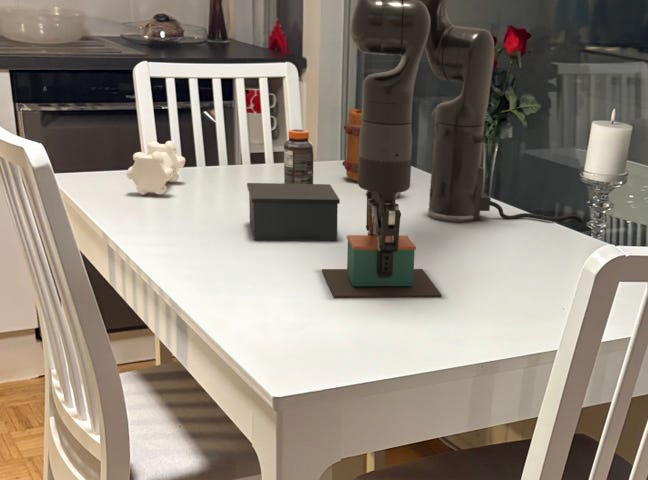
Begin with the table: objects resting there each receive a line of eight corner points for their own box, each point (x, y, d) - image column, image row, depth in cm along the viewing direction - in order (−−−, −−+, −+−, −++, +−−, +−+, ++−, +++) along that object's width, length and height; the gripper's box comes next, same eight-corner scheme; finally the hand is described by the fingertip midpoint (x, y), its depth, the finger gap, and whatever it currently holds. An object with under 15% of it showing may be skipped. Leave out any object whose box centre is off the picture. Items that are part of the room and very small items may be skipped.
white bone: (172, 198, 185) (169, 154, 181) (126, 195, 185) (122, 151, 181) (187, 181, 198) (185, 140, 194) (144, 179, 198) (141, 137, 194)
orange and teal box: (405, 274, 150) (407, 235, 147) (413, 286, 145) (415, 246, 142) (346, 274, 148) (347, 235, 145) (352, 286, 143) (353, 246, 140)
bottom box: (329, 223, 176) (330, 184, 173) (338, 240, 167) (339, 199, 163) (248, 222, 173) (247, 182, 170) (252, 240, 163) (251, 198, 160)
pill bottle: (315, 185, 203) (316, 129, 198) (310, 191, 198) (310, 133, 192) (287, 183, 203) (287, 126, 198) (281, 189, 198) (280, 131, 193)
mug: (335, 180, 209) (336, 106, 202) (349, 174, 216) (351, 102, 208) (399, 189, 205) (402, 114, 198) (411, 182, 212) (415, 110, 205)
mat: (422, 271, 154) (422, 268, 154) (441, 297, 143) (441, 294, 143) (321, 271, 150) (321, 269, 150) (333, 298, 139) (333, 295, 139)
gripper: (422, 165, 132) (414, 284, 140) (400, 145, 145) (395, 256, 153) (367, 163, 131) (363, 284, 139) (351, 143, 143) (348, 256, 151)
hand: (380, 269), depth 146 cm, fingers closed on orange and teal box, 6 cm apart
